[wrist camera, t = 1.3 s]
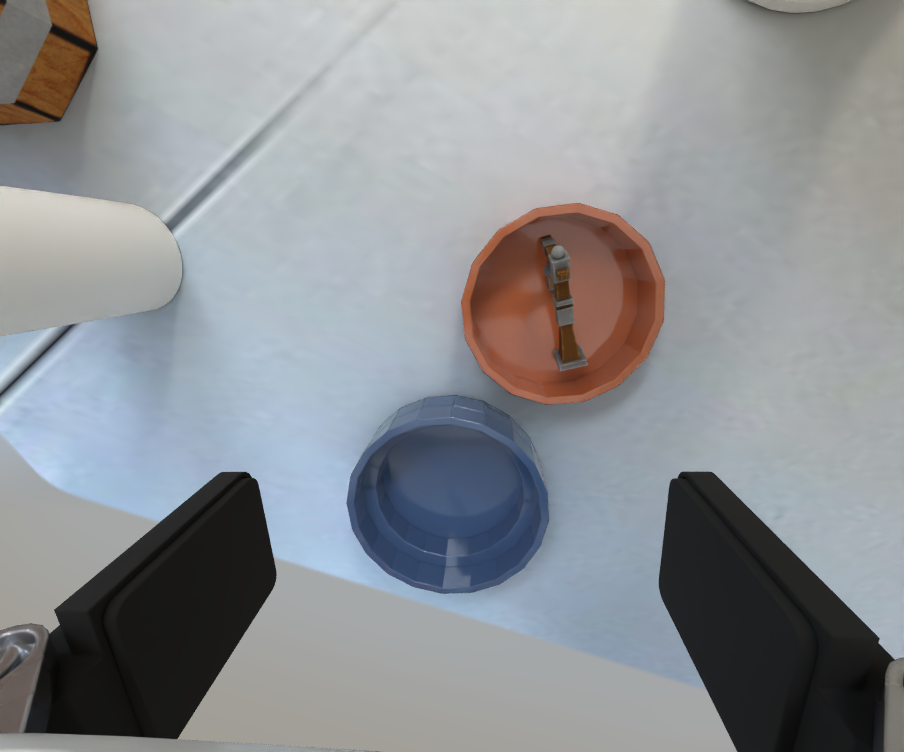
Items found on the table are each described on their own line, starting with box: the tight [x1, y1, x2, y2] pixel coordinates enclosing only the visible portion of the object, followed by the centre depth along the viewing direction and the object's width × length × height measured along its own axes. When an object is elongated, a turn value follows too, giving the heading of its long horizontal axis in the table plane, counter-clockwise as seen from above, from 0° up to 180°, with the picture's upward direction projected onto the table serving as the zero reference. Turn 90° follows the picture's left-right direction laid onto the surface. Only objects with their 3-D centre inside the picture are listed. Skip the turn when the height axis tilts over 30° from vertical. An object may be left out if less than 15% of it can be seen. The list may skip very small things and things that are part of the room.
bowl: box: [347, 395, 549, 594], centre depth 29 cm, size 13×13×4 cm
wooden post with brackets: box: [540, 235, 588, 371], centre depth 25 cm, size 2×8×4 cm, turn 15°
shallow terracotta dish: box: [461, 203, 665, 405], centre depth 26 cm, size 11×11×3 cm
